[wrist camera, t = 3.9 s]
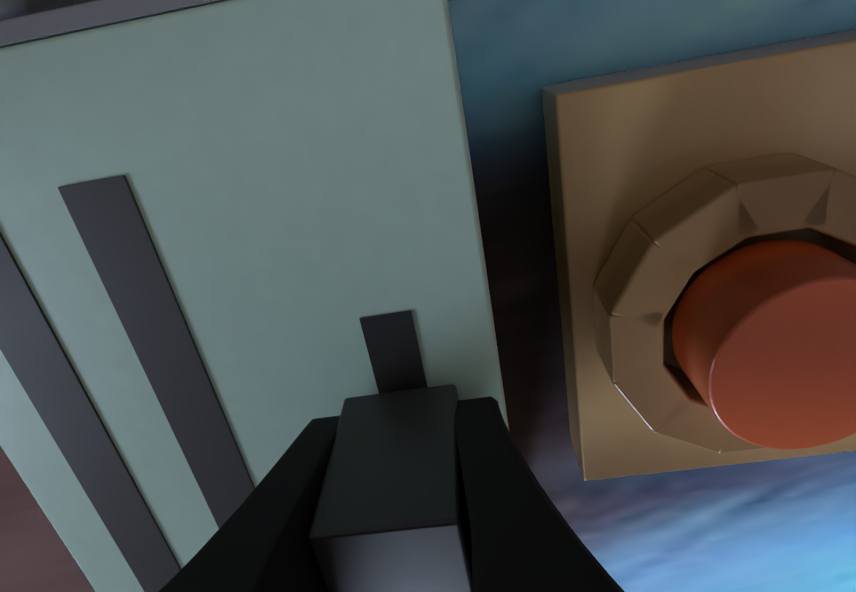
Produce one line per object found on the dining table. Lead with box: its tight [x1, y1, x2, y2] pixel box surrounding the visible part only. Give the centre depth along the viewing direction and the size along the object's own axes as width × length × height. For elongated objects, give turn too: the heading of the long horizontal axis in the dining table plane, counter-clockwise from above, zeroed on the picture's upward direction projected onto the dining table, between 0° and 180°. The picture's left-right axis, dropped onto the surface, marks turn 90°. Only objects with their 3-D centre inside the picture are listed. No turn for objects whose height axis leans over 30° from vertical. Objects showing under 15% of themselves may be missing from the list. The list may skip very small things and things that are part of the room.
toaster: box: [0, 0, 509, 592], centre depth 14 cm, size 17×10×6 cm, turn 10°
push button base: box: [542, 29, 856, 481], centre depth 14 cm, size 11×8×4 cm
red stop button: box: [671, 239, 856, 450], centre depth 12 cm, size 4×4×2 cm
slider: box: [308, 384, 473, 592], centre depth 9 cm, size 2×2×3 cm
